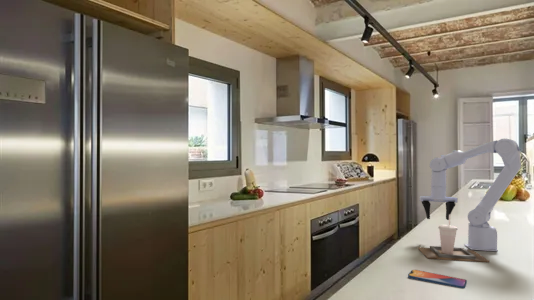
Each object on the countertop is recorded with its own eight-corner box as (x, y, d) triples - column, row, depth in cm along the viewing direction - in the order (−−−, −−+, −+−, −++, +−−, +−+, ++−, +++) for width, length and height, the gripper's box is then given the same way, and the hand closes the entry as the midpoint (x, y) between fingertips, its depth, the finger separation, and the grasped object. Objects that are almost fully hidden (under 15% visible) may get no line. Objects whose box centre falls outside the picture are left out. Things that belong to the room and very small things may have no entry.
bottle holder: (473, 251, 144) (473, 247, 144) (489, 262, 130) (489, 258, 130) (417, 248, 146) (418, 244, 146) (427, 258, 133) (427, 254, 133)
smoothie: (460, 255, 136) (461, 216, 136) (442, 254, 136) (443, 215, 136) (451, 250, 143) (452, 213, 143) (434, 250, 143) (435, 212, 142)
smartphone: (464, 290, 104) (464, 286, 104) (407, 278, 112) (407, 275, 112) (466, 283, 110) (467, 279, 110) (412, 272, 118) (412, 269, 118)
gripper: (453, 186, 162) (453, 218, 162) (417, 185, 164) (417, 216, 164) (459, 187, 155) (458, 221, 155) (422, 186, 157) (421, 219, 157)
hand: (437, 219), depth 159 cm, fingers open, 7 cm apart
